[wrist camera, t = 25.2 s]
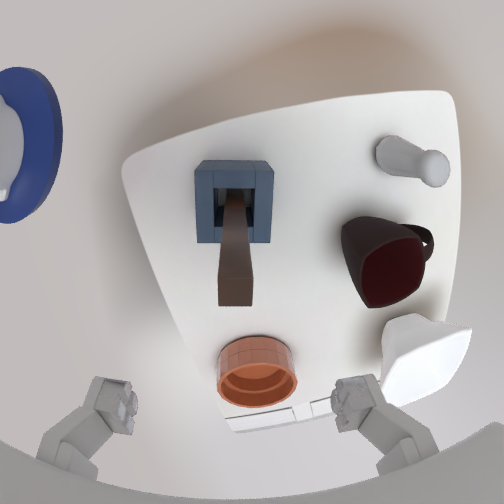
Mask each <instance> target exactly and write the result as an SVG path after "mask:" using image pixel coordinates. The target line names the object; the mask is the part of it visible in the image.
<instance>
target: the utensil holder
mask: <svg viewBox="0 0 504 504" xmlns="http://www.w3.org/2000/svg"><path fill="white" fill-rule="evenodd" d="M273 184H274V171H273V169H272V168H271V167H270V166H269V164H268V163H267V162H266V161H245V160H207V161H202V162H201V164H200V165H199V166H198V167H197V168H196V170H195V205H196V229H197V243H214V242H215V243H221V238H222V229H223V219H224V210H225V206H218V188H245V189H250V206H245V211H246V219H247V228H248V236H249V243H270V236H271V220H272V202H273Z"/></svg>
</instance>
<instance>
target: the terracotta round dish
mask: <svg viewBox="0 0 504 504" xmlns="http://www.w3.org/2000/svg"><path fill="white" fill-rule="evenodd" d="M296 386H297V377H296V373H295V368H294V364H293V359H292V355H291V352H290V350H289V349H288V348H287V347H286V346H285V345H284V344H283V343H281V342H279V341H277V340H275V339H272V338H267V337H248V338H244V339H240V340H237V341H235V342H233V343H231V344H229V345H227V346H226V347H225V348H224V349H223V350H222V351H221V353H220V355H219V358H218V368H217V391H218V393H219V394H220V396H221V397H222V398H223V399H224V400H226V401H227V402H229V403H231V404H234V405H237V406H240V407H247V408H261V407H266V406H271V405H274V404H277V403H279V402H282V401H284V400H285V399H287V398H288V397H289V396H291V394H292V393H293V392H294V391H295V389H296Z"/></svg>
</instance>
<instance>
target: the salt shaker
mask: <svg viewBox="0 0 504 504" xmlns="http://www.w3.org/2000/svg"><path fill="white" fill-rule="evenodd" d="M376 160H377V163H378V165H379V166H380V167H381V169H382V170H383V171H384V172H386V173H388V174H390V175H393V176H403V177H413V178H420V179H421V180H422V182H424V183H425V184H427V185H429V186H430V187H434V188H436V187H441V186H442V185H444V184H445V183H446V181H447V180H448V178H449V175H450V164H449V161H448V159H447V157H446V156H445V155H444V154H442V153H441V152H439V151H437V150H427V151H424V150H423V149H421V148H419V147H417V146H415V145H414V144H412V143H410V142H408V141H406V140H404V139H402V138H401V137H399V136H387V137H386V138H384V139H383V140H381V142H380V143H379V145H378V146H377V147H376Z"/></svg>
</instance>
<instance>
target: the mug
mask: <svg viewBox="0 0 504 504" xmlns="http://www.w3.org/2000/svg"><path fill="white" fill-rule="evenodd" d="M341 241H342V248H343V253H344V257H345V261H346V264H347V267H348V270H349V273H350V276H351V278H352V281H353V283H354V285H355V288H356V290H357V292H358V293H359V295H360V297H361V299H362V301H363V302H364V304H365V305H366V306H367V307H368V308H381V307H386V306H389V305H392V304H395V303H397V302H399V301H401V300H403V299H405V298H406V297H408V296H409V295H411V294H412V293H413V292H415V291H416V290H417V289H418V288H419V287H420V284H421V282H422V279H423V275H424V270H425V262H426V261H427V260H428V259H429V258H430V257H431V255H432V253H433V248H434V240H433V236H432V234H431V232H430V231H429V230H428V229H426V228H424V227H421V226H417V225H410V224H397V223H394V222H392V221H389V220H385V219H382V218H376V217H358V218H355V219H353V220H351V221H349V222H347V223H346V224H345V225H343V227H342V231H341ZM422 242H424V243H426V244H427V245H426V246H425V247H424V246H423V243H422Z"/></svg>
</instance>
